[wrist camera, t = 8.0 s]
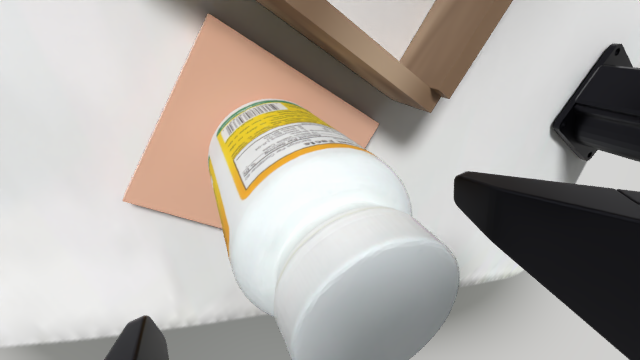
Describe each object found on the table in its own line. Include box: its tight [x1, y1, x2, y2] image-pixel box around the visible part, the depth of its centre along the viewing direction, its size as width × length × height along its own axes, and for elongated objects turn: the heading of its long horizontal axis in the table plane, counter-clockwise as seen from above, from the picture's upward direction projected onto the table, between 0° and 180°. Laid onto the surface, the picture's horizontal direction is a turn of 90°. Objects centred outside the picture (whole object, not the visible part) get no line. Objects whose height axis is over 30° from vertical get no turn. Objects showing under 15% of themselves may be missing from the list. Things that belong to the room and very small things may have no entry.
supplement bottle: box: [208, 99, 459, 360], centre depth 10 cm, size 5×5×10 cm
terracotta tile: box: [123, 14, 379, 228], centre depth 15 cm, size 9×8×1 cm
